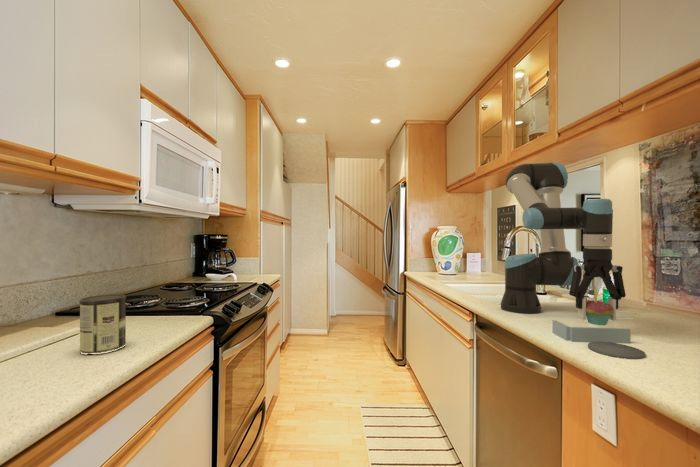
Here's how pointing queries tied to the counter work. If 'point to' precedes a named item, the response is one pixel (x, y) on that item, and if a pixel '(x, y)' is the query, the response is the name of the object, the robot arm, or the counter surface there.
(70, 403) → the counter surface
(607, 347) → the pad
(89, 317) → the coffee can
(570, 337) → the pen walls
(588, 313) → the cupcake
